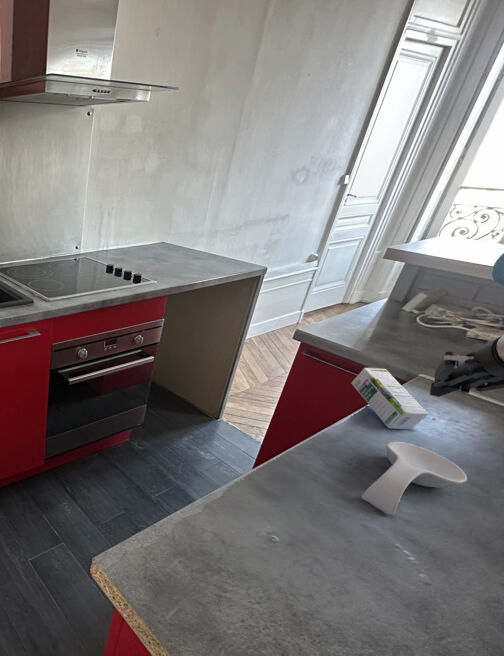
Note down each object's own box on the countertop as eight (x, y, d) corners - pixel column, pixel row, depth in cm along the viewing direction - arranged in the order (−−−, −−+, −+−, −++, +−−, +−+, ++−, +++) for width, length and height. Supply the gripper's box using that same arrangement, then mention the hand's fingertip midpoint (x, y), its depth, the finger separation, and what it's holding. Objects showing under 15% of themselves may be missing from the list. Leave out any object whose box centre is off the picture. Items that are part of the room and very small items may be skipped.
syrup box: (387, 428, 94) (348, 382, 105) (412, 429, 94) (371, 383, 105) (404, 413, 90) (362, 366, 101) (430, 414, 91) (385, 367, 101)
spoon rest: (391, 447, 88) (408, 420, 85) (465, 484, 79) (487, 456, 76) (339, 487, 77) (355, 458, 74) (418, 535, 68) (441, 504, 65)
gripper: (469, 363, 69) (394, 396, 90) (581, 386, 64) (474, 416, 84) (473, 323, 71) (399, 365, 92) (583, 342, 65) (477, 382, 86)
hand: (435, 389), depth 88 cm, fingers closed
